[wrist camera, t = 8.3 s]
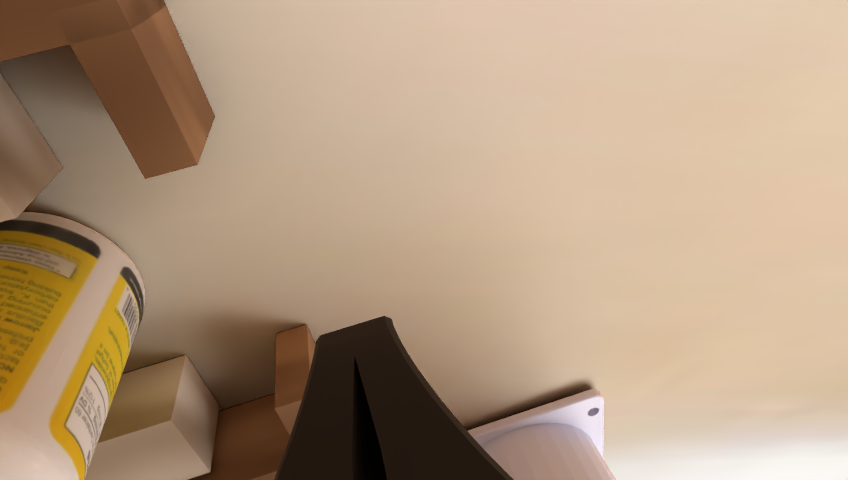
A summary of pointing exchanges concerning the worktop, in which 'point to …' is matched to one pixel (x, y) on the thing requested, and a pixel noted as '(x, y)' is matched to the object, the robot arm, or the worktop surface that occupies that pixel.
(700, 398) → the worktop surface
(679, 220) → the worktop surface
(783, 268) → the worktop surface
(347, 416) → the robot arm
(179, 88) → the socket box
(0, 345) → the supplement bottle
